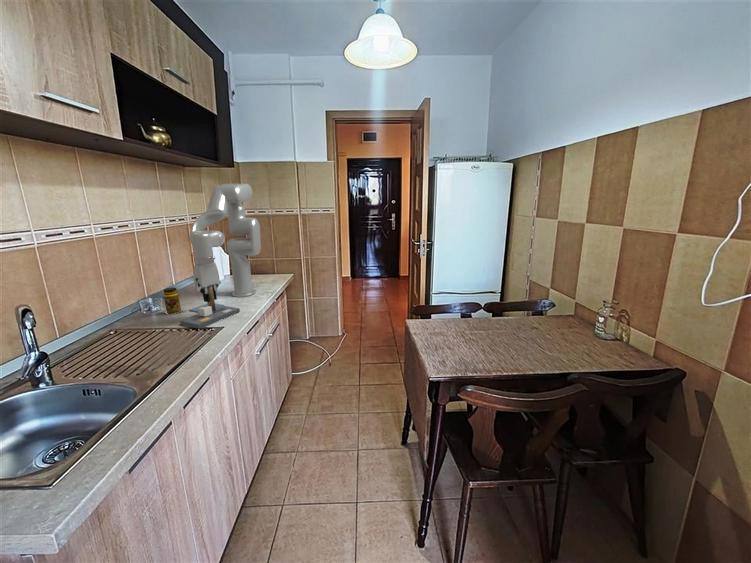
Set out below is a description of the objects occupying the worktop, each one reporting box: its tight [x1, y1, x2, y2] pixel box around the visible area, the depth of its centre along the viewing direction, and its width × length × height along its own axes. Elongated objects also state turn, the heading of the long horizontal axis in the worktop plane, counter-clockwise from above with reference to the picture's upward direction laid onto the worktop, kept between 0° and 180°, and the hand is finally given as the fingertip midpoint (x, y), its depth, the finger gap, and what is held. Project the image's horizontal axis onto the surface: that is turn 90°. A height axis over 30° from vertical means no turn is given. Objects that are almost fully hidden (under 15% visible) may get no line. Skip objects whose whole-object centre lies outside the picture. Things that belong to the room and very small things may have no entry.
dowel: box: [206, 286, 216, 312], centre depth 153 cm, size 3×3×14 cm
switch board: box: [179, 304, 241, 330], centre depth 153 cm, size 22×12×2 cm, turn 155°
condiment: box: [163, 286, 186, 315], centre depth 162 cm, size 7×8×12 cm
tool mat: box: [188, 302, 225, 313], centre depth 167 cm, size 12×10×1 cm
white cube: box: [197, 304, 213, 317], centre depth 151 cm, size 4×4×4 cm
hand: (210, 300), depth 153 cm, fingers closed on dowel, 3 cm apart
